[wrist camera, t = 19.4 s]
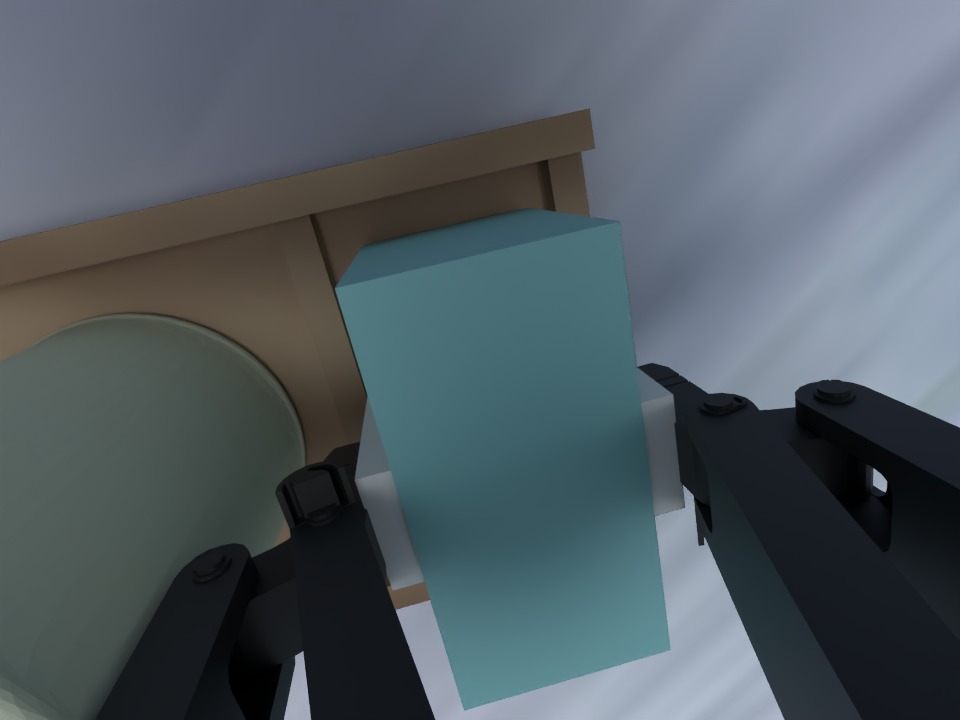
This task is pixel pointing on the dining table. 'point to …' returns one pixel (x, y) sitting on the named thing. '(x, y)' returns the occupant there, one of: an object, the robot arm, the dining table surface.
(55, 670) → the can
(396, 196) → the cradle jig
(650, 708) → the dining table surface
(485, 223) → the wing block
